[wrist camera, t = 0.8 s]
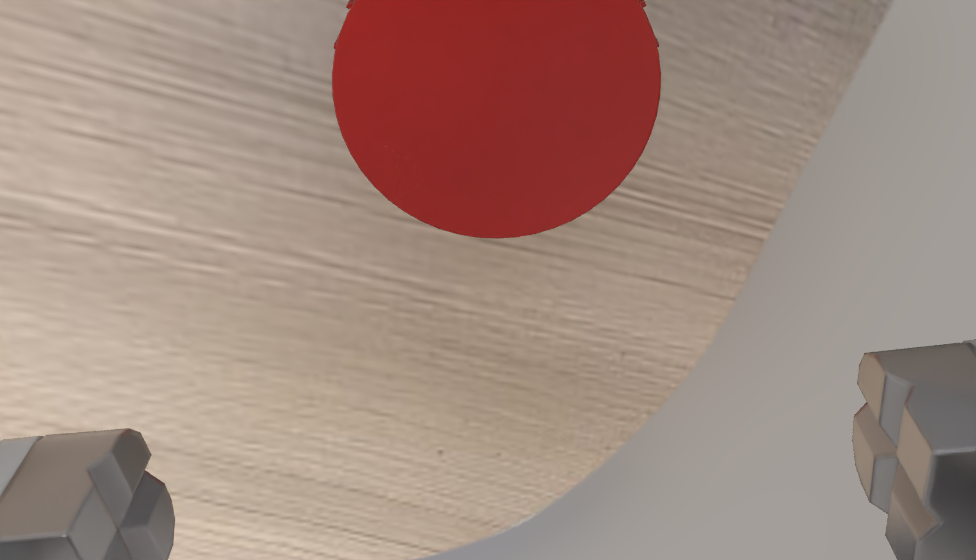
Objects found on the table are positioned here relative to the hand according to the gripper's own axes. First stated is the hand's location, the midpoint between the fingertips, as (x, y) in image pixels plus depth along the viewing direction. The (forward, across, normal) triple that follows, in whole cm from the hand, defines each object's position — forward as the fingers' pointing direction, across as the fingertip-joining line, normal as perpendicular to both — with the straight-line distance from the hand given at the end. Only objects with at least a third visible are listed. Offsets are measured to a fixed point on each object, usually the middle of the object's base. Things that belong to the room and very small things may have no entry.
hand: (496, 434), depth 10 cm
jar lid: (+11, 0, 0) cm, 11 cm away
